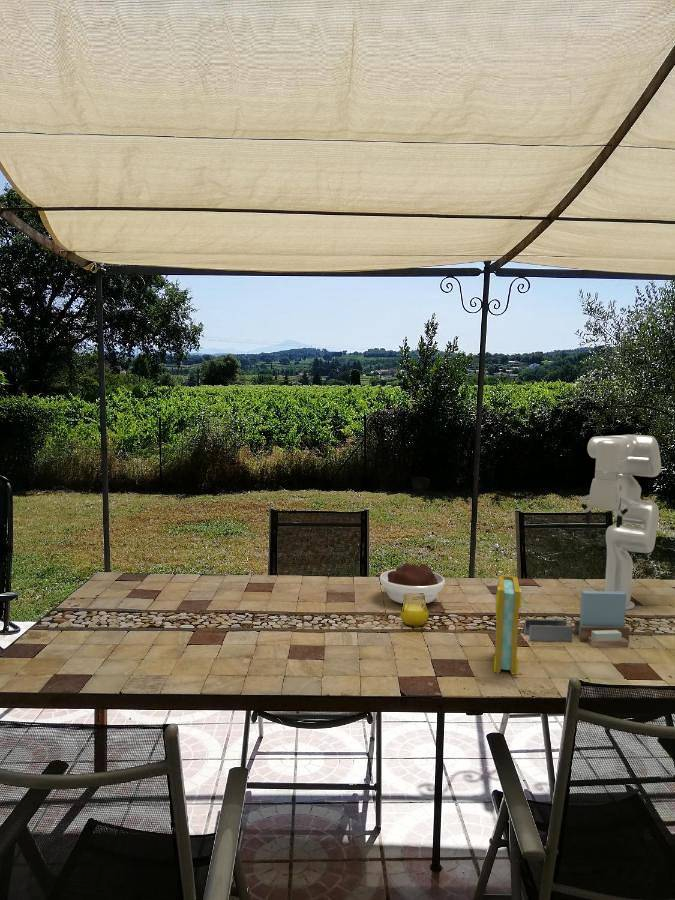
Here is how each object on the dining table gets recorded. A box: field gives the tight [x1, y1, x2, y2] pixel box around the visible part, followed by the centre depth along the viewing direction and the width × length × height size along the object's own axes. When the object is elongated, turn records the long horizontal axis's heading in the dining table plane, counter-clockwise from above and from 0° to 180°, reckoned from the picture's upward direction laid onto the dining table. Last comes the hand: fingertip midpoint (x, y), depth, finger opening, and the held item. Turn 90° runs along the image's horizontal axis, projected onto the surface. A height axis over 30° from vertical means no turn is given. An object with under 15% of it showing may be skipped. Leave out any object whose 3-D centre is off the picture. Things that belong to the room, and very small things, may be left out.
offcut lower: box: [587, 637, 629, 648], centre depth 235 cm, size 4×12×2 cm, turn 92°
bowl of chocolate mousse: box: [379, 562, 446, 604], centre depth 275 cm, size 25×25×15 cm
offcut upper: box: [591, 630, 622, 641], centre depth 234 cm, size 3×9×2 cm, turn 98°
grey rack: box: [523, 618, 574, 643], centre depth 240 cm, size 7×14×5 cm, turn 91°
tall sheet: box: [578, 590, 626, 638], centre depth 240 cm, size 3×14×16 cm, turn 91°
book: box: [493, 574, 522, 675], centre depth 217 cm, size 17×7×25 cm, turn 168°
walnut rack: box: [573, 619, 631, 644], centre depth 241 cm, size 7×16×5 cm, turn 91°
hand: (603, 525), depth 246 cm, fingers open, 9 cm apart
